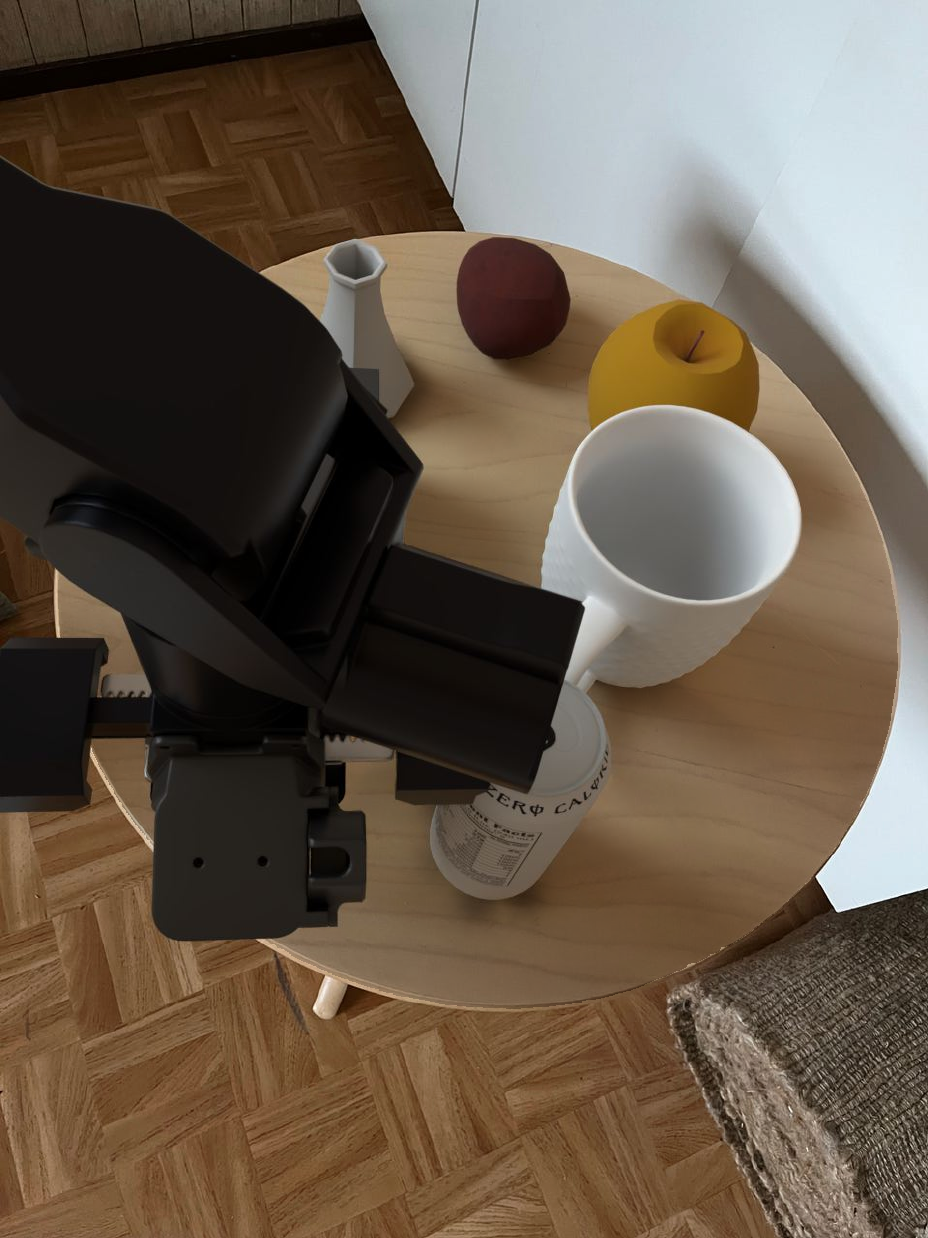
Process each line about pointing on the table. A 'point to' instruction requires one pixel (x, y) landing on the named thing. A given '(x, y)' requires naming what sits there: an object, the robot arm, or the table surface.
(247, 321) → the robot arm
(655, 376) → the apple
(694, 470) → the mug
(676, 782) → the table surface
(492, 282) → the potato
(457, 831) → the energy drink can
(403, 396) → the flask
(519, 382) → the table surface
